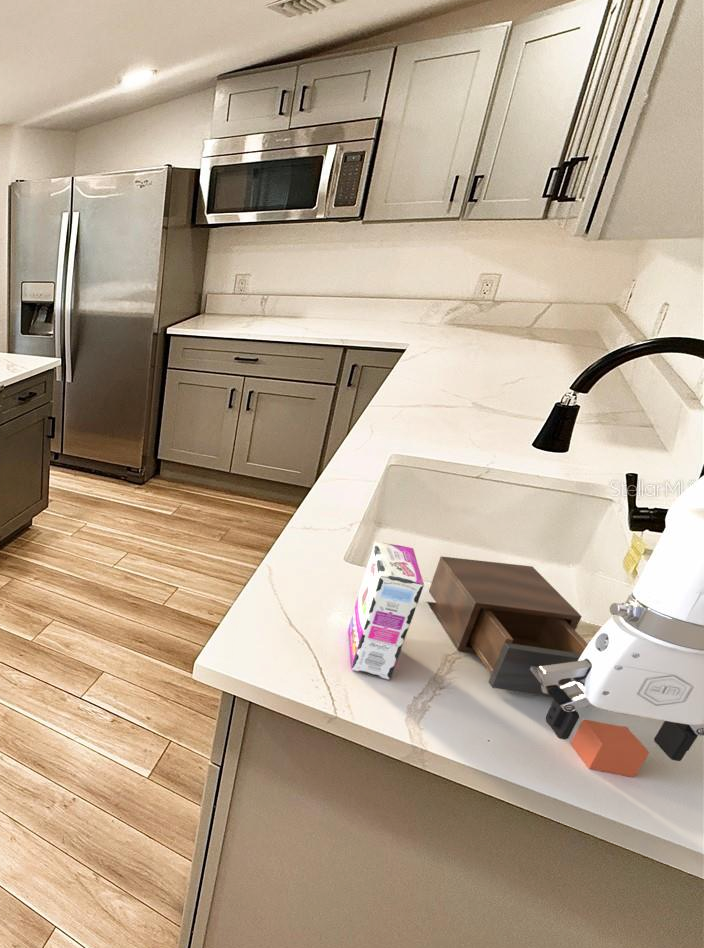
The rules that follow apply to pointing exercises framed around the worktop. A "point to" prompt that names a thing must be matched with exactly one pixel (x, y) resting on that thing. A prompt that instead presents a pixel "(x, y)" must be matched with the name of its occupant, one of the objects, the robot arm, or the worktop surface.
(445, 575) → the cabinet
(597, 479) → the worktop surface
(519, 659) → the drawer
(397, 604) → the candy bar box
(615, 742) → the block
